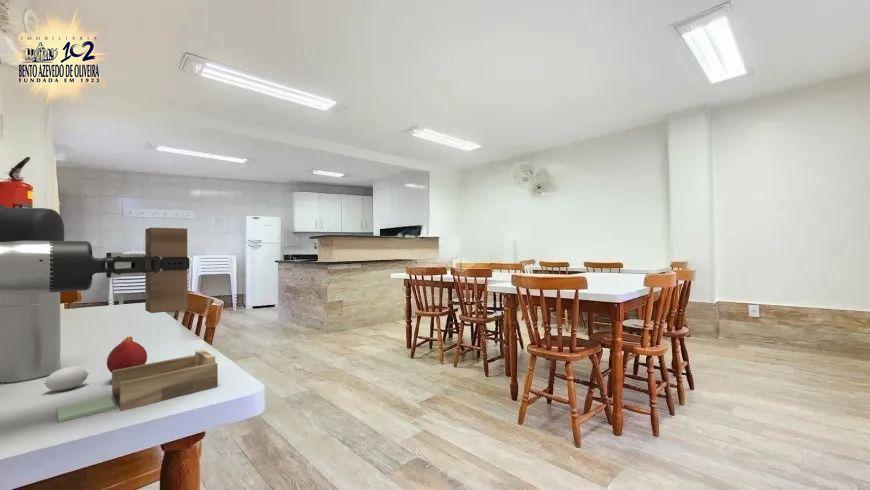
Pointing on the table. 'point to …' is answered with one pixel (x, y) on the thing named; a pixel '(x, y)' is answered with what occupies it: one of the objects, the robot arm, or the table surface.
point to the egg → (66, 378)
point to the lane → (164, 380)
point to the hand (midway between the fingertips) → (183, 263)
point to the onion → (126, 355)
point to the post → (167, 285)
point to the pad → (84, 408)
